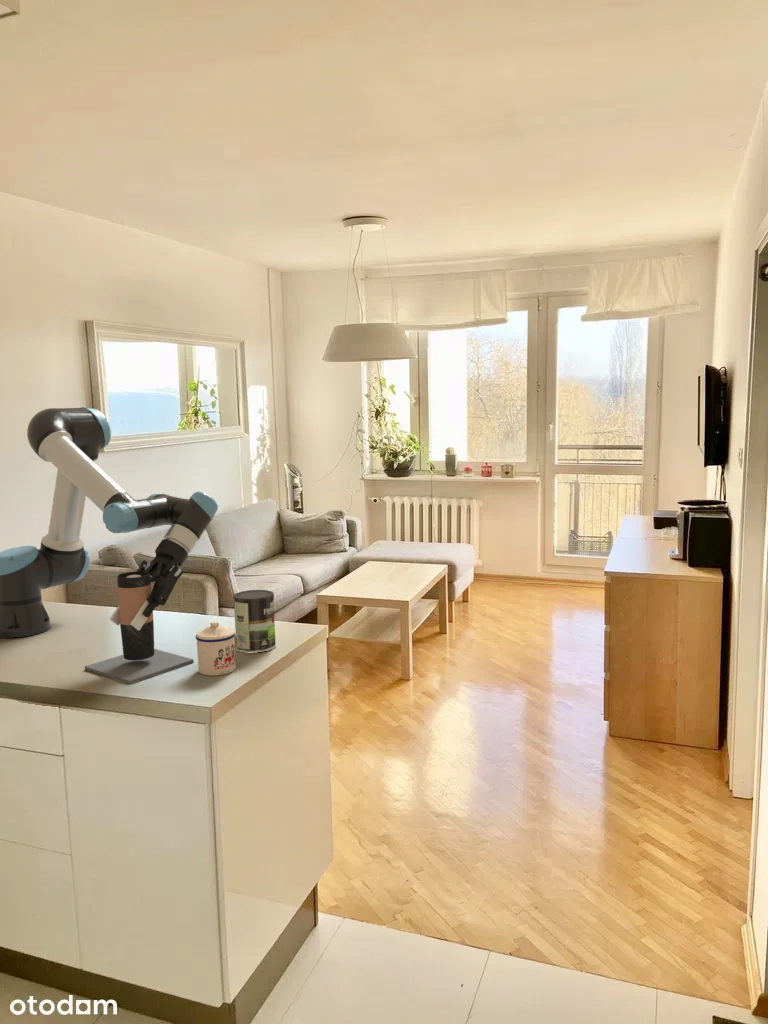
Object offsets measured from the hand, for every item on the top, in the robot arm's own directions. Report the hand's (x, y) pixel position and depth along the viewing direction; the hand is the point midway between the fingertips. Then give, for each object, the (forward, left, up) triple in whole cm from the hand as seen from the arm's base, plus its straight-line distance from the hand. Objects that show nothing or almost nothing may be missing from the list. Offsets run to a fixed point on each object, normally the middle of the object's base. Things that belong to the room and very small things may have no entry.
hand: (124, 624), depth 183 cm
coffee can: (+13, +29, -11) cm, 34 cm away
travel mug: (0, +3, -9) cm, 9 cm away
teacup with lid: (+18, +13, -11) cm, 25 cm away
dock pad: (0, +3, -11) cm, 12 cm away
